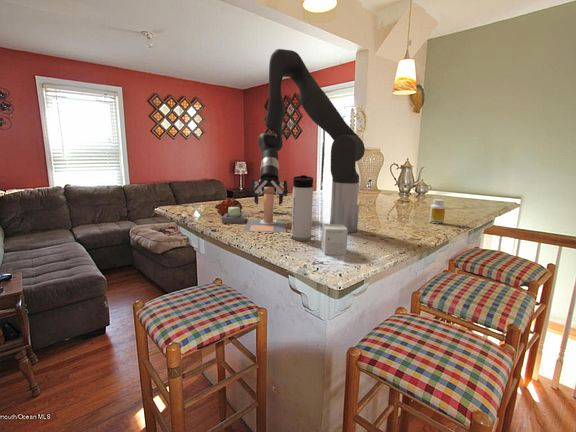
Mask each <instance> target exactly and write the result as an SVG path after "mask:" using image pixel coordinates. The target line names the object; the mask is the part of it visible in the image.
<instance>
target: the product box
mask: <svg viewBox="0 0 576 432" xmlns="http://www.w3.org/2000/svg"><path fill="white" fill-rule="evenodd" d="M348 234H349V233H348V229H347V228H346V227H345V226H344V225H338V224H330V223H329V224H328V223H326V224H325V223H323V224H322V226H321V244H320V249H321V250H322V252H323V254H324V255H331V256H333V255H334V256H335V255H336V256H337V255H338V256H346V255H347V248H348Z"/></svg>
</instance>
